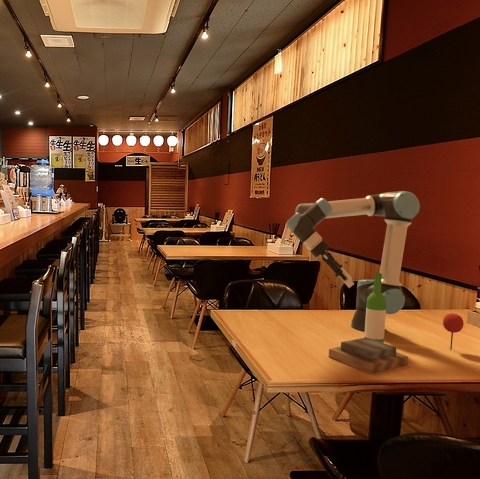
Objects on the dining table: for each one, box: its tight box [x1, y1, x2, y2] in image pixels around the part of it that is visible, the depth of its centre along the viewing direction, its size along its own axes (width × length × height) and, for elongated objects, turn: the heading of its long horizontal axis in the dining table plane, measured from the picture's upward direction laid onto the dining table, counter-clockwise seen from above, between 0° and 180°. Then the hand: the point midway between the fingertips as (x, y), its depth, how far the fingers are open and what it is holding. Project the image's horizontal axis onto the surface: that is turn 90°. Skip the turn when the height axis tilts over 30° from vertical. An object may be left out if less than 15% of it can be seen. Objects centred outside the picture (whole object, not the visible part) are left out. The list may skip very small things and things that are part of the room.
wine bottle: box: [363, 272, 387, 343], centre depth 191 cm, size 8×8×30 cm
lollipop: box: [442, 313, 465, 351], centre depth 190 cm, size 8×8×15 cm
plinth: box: [328, 337, 409, 374], centre depth 171 cm, size 20×20×6 cm
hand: (350, 283), depth 192 cm, fingers open, 13 cm apart
